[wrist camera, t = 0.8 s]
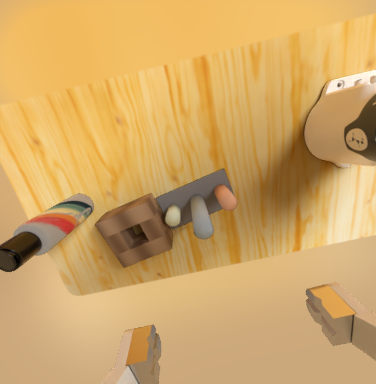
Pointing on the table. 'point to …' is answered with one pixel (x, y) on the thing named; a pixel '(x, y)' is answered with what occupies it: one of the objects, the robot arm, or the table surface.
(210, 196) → the mat
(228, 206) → the pin medium
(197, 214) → the pin long
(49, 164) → the table surface
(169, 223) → the pin short
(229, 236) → the table surface
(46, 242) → the lotion bottle
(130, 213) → the socket block
